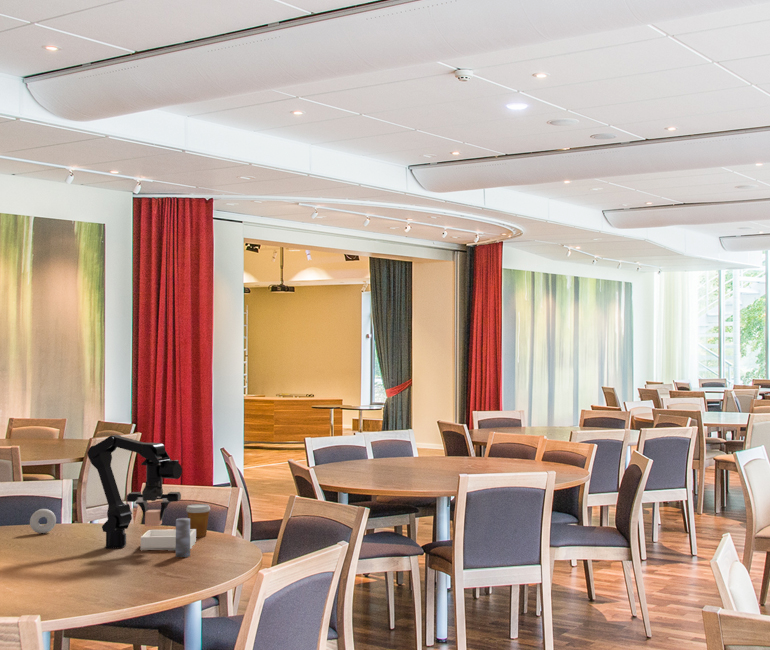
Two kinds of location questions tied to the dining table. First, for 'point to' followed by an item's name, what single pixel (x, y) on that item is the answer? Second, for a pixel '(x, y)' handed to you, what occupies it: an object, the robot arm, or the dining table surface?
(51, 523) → the donut
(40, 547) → the dining table surface
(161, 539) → the tote
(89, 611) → the dining table surface
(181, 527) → the slate peg
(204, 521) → the disposable coffee cup
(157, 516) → the terracotta cube
